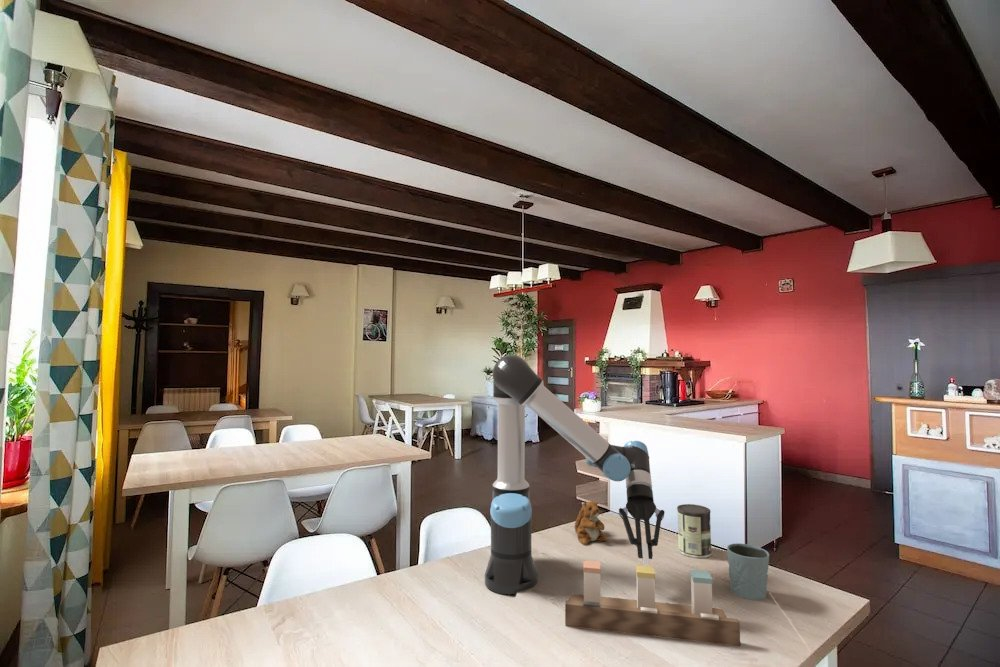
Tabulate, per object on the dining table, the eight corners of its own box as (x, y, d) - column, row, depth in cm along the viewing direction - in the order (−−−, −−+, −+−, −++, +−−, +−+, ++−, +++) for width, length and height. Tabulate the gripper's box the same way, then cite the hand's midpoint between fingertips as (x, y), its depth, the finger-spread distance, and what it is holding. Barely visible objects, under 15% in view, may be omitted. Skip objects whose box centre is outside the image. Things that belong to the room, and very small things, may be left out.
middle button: (637, 614, 118) (637, 572, 118) (636, 606, 122) (635, 564, 122) (655, 616, 117) (654, 573, 117) (653, 608, 121) (653, 566, 121)
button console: (565, 630, 113) (565, 602, 114) (570, 597, 129) (569, 572, 129) (740, 650, 105) (739, 620, 106) (722, 612, 121) (722, 586, 121)
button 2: (694, 621, 115) (693, 577, 115) (691, 612, 119) (690, 569, 120) (713, 623, 114) (712, 578, 115) (709, 613, 118) (708, 571, 119)
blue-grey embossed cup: (719, 590, 133) (718, 545, 133) (747, 584, 136) (746, 540, 137) (750, 608, 123) (749, 560, 124) (779, 601, 127) (778, 554, 128)
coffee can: (704, 546, 164) (703, 503, 165) (716, 558, 154) (715, 513, 155) (673, 545, 164) (672, 503, 165) (684, 558, 154) (683, 513, 155)
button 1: (583, 609, 120) (583, 567, 121) (584, 600, 124) (583, 560, 125) (600, 611, 119) (600, 568, 120) (600, 602, 124) (600, 561, 124)
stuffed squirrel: (584, 546, 164) (583, 507, 165) (566, 532, 177) (566, 495, 178) (610, 543, 167) (609, 504, 168) (591, 529, 180) (590, 493, 181)
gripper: (661, 496, 146) (671, 577, 129) (616, 494, 148) (621, 574, 131) (662, 483, 141) (673, 566, 124) (616, 481, 144) (621, 562, 126)
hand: (646, 570), depth 128 cm, fingers closed
